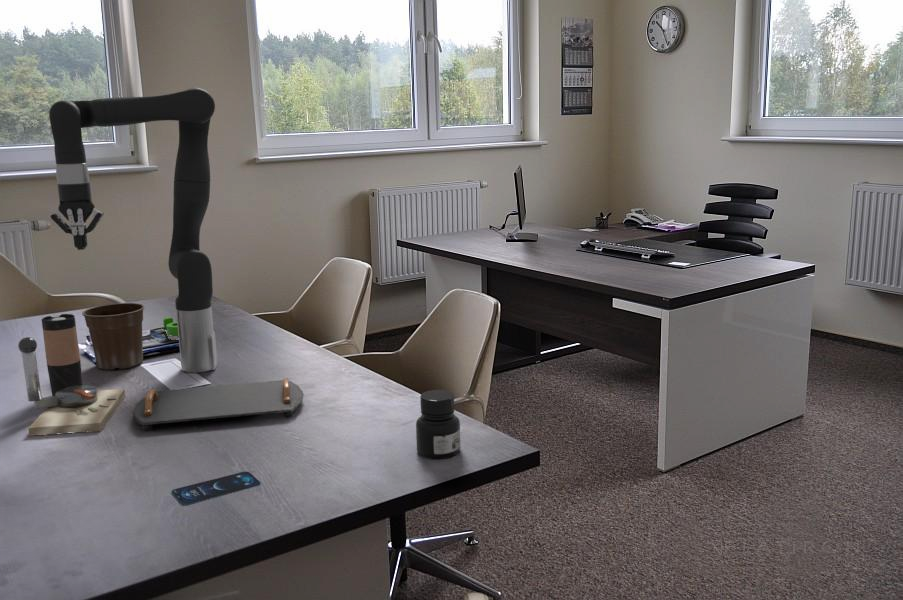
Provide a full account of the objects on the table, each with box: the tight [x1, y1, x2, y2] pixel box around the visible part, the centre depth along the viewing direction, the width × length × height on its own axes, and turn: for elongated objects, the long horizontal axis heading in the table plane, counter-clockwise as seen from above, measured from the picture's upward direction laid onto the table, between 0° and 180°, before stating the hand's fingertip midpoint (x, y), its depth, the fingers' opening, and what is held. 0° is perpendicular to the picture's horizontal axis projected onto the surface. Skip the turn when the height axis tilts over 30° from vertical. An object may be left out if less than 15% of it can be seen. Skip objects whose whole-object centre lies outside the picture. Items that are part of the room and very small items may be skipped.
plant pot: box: [81, 302, 145, 371], centre depth 236 cm, size 16×16×16 cm
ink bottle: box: [415, 389, 461, 459], centre depth 170 cm, size 10×9×12 cm
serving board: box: [132, 377, 304, 432], centre depth 198 cm, size 39×23×6 cm, turn 102°
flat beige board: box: [27, 388, 126, 437], centre depth 197 cm, size 15×24×2 cm, turn 9°
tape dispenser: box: [162, 316, 178, 336], centre depth 268 cm, size 15×7×5 cm, turn 25°
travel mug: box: [41, 313, 83, 396], centre depth 210 cm, size 8×8×20 cm
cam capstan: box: [17, 336, 98, 410], centre depth 195 cm, size 13×15×17 cm
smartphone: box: [171, 471, 262, 506], centre depth 157 cm, size 8×1×15 cm
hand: (81, 249), depth 217 cm, fingers closed
